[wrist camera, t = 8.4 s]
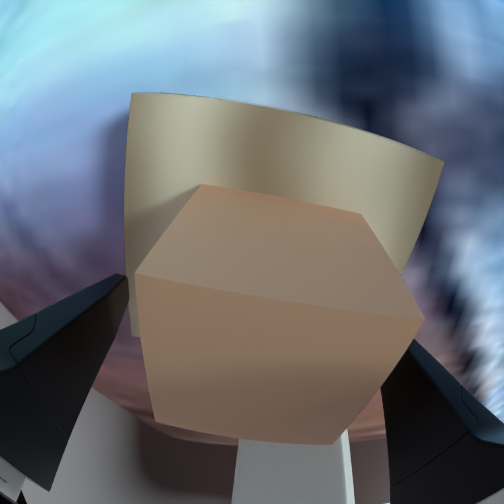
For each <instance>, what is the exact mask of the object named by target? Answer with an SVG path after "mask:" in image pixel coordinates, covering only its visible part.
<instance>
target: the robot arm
mask: <svg viewBox="0 0 504 504" xmlns="http://www.w3.org/2000/svg"><path fill="white" fill-rule="evenodd" d="M128 302H129V282H128V277H127V276H125V275H121V274H114V275H112V276H110V277H108V278H106V279H104V280H102V281H99V282H97V283H95V284H93V285H91V286H89V287H87V288H85V289H83V290H81V291H79V292H77V293H75V294H73V295H71V296H69V297H67V298H65V299H63V300H61V301H59V302H57V303H55V304H53V305H51V306H49V307H47V308H45V309H43V310H41V311H39V312H37V314H36V313H35V314H33V315H31V316H29V317H27V318H25V319H23V320H21V321H19V322H17V323H15V324H12V325H10V326H8V327H6V328H3V329H1V330H0V504H27V503H26V500H25V498H24V496H23V493H22V490H21V488H22V486H23V483H24V481H25V478H26V479H28V480H30V481H31V482H33V483H35V484H36V485H38V486H40V487H42V488H43V489H45V490H47V491H50V489H51V487H52V484H53V481H54V478H55V475H56V472H57V470H58V467H59V464H60V461H61V458H62V456H63V453H64V451H65V448H66V446H67V443H68V440H69V438H70V435H71V433H72V430H73V428H74V425H75V423H76V420H77V418H78V416H79V413H80V411H81V409H82V407H83V404H84V402H85V400H86V398H87V395H88V393H89V391H90V389H91V387H92V384H93V382H94V380H95V378H96V376H97V374H98V372H99V369H100V367H101V365H102V363H103V361H104V359H105V357H106V355H107V353H108V351H109V349H110V347H111V345H112V343H113V341H114V339H115V336H116V334H117V331H118V328H119V326H120V323H121V320H122V318H123V315H124V312H125V310H126V307H127V305H128ZM380 388H381V395H382V402H383V410H384V418H385V427H386V437H387V447H388V459H389V475H390V486H391V487H390V504H504V423H503V422H501V421H500V420H499V419H498V418H497V417H496V416H495V415H494V414H492V413H491V412H490V411H489V410H488V409H487V408H486V407H484V406H483V405H482V404H481V403H480V402H479V401H478V400H477V399H476V398H475V397H474V396H473V395H472V394H471V393H469V392H468V391H467V390H466V389H465V388H464V387H463V386H462V385H460V383H459V382H458V381H457V380H456V379H455V378H454V377H453V376H452V375H451V374H450V373H449V372H448V371H447V370H446V369H445V368H444V367H443V366H442V365H441V364H440V363H439V362H438V361H437V360H436V359H435V358H434V357H433V356H432V355H431V354H430V353H429V352H427V351H426V350H425V349H424V348H423V347H422V346H421V345H420V344H419V343H418V342H417V341H416V340H415V339H413V340H412V342H411V343H410V345H409V347H408V348H407V350H406V351H405V353H404V354H403V356H402V357H401V359H400V360H399V362H398V363H397V365H396V366H395V368H394V369H393V370H392V372H391V373H390V375H389V376H388V377H387V379H386V380H385V382H384V383H383V384H382V386H381V387H380Z"/></svg>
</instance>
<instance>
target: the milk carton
mask: <svg viewBox="0 0 504 504" xmlns="http://www.w3.org/2000/svg"><path fill="white" fill-rule="evenodd" d="M232 504H355V501H354V489H353V478H352V468H351V459H350V449H349V441H348V433H347V429H346V430H345V431H344V432H343V433H342V435H341V436H340V437H339V438H338V439H337V440H336V441H335V442H334V443H333V444H332V445H309V444H289V443H275V442H264V441H255V440H247V439H239V445H238V453H237V462H236V470H235V479H234V487H233V496H232Z"/></svg>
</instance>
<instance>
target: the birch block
mask: <svg viewBox="0 0 504 504" xmlns="http://www.w3.org/2000/svg"><path fill="white" fill-rule="evenodd" d="M444 163H445V162H443V161H441V160H439V159H437V158H435V157H433V156H430V155H428V154H426V153H424V152H422V151H419V150H417V149H415V148H412V147H410V146H408V145H405V144H402V143H399V142H397V141H394V140H391V139H388V138H385V137H383V136H380V135H377V134H374V133H371V132H367V131H364V130H361V129H358V128H355V127H351V126H348V125H344V124H341V123H337V122H334V121H330V120H326V119H323V118H319V117H315V116H311V115H307V114H302V113H298V112H294V111H289V110H284V109H280V108H275V107H270V106H264V105H259V104H253V103H247V102H241V101H235V100H228V99H221V98H213V97H205V96H196V95H186V94H174V93H132V95H131V103H130V112H129V121H128V132H127V145H126V161H125V185H124V241H125V265H126V276H127V277H128V282H129V302H128V305H129V315H130V324H131V333H132V336H135V337H139V338H141V336H140V327H139V319H138V309H137V299H136V287H135V272H136V270H137V269H138V267H139V266H140V265H141V263H142V262H143V260H144V259H145V258H146V256H147V255H148V253H149V252H150V251H151V249H152V248H153V247H154V245H155V244H156V242H157V241H158V240H159V238H160V237H161V236H162V234H163V233H164V232H165V230H166V229H167V228H168V227H169V225H170V224H171V223H172V221H173V220H174V219H175V217H176V216H177V215H178V214H179V212H180V211H181V210H182V208H183V207H184V206H185V205H186V203H187V202H188V201H189V200H190V198H191V197H192V196H193V195H194V193H195V192H196V191H197V190H198V188H199V187H200V186H201V185H202V184H206V185H213V186H219V187H226V188H232V189H238V190H244V191H250V192H256V193H261V194H267V195H272V196H278V197H283V198H289V199H294V200H299V201H304V202H309V203H314V204H319V205H324V206H328V207H333V208H338V209H342V210H347V211H351V212H356V213H360V214H362V216H363V217H364V219H365V220H366V222H367V223H368V225H369V226H370V228H371V229H372V231H373V232H374V234H375V235H376V237H377V238H378V240H379V241H380V243H381V244H382V246H383V248H384V249H385V251H386V252H387V254H388V255H389V257H390V259H391V260H392V262H393V264H394V265H395V267H396V268H397V270H398V272H399V273H400V275H401V274H402V272H403V270H404V268H405V266H406V263H407V261H408V259H409V257H410V254H411V252H412V250H413V248H414V245H415V243H416V240H417V238H418V236H419V233H420V231H421V228H422V226H423V223H424V221H425V218H426V215H427V213H428V210H429V207H430V205H431V202H432V199H433V196H434V194H435V191H436V188H437V185H438V182H439V179H440V176H441V172H442V169H443V166H444Z"/></svg>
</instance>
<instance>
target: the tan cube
mask: <svg viewBox="0 0 504 504" xmlns="http://www.w3.org/2000/svg"><path fill="white" fill-rule="evenodd" d="M135 287H136V299H137V309H138V319H139V327H140V336H141V343H142V350H143V357H144V364H145V370H146V376H147V382H148V388H149V393H150V398H151V403H152V408H153V413H154V418H155V422H158V423H162V424H166V425H170V426H175V427H179V428H183V429H188V430H193V431H198V432H203V433H208V434H214V435H219V436H226V437H232V438H239V439H247V440H255V441H264V442H275V443H289V444H309V445H332V444H333V443H334V442H335V441H336V440H337V439H338V438H339V437H340V436H341V435H342V433H343V432H344V431H345V430H346V429H347V428H348V427H349V426H350V424H351V423H352V422H353V421H354V420H355V418H356V417H357V416H358V415H359V414H360V412H361V411H362V410H363V409H364V408H365V406H366V405H367V404H368V403H369V401H370V400H371V399H372V397H373V396H374V395H375V394H376V392H377V391H378V390H379V388H380V387H381V386H382V384H383V383H384V382H385V380H386V379H387V377H388V376H389V375H390V373H391V372H392V370H393V369H394V368H395V366H396V365H397V363H398V362H399V360H400V359H401V357H402V356H403V354H404V353H405V351H406V350H407V348H408V347H409V345H410V343H411V342H412V340H413V339H414V337H415V335H416V334H417V332H418V331H419V329H420V327H421V326H422V324H423V322H424V320H425V318H424V316H423V314H422V312H421V310H420V308H419V307H418V305H417V303H416V301H415V299H414V298H413V296H412V294H411V292H410V290H409V289H408V287H407V285H406V284H405V282H404V280H403V278H402V277H401V275H400V273H399V272H398V270H397V268H396V267H395V265H394V264H393V262H392V260H391V259H390V257H389V255H388V254H387V252H386V251H385V249H384V248H383V246H382V244H381V243H380V241H379V240H378V238H377V237H376V235H375V234H374V232H373V231H372V229H371V228H370V226H369V225H368V223H367V222H366V220H365V219H364V217H363V216H362V214H360V213H356V212H351V211H347V210H342V209H338V208H333V207H328V206H324V205H319V204H314V203H309V202H304V201H299V200H294V199H289V198H283V197H278V196H272V195H267V194H261V193H256V192H250V191H244V190H238V189H232V188H226V187H219V186H213V185H206V184H202V185H201V186H200V187H199V188H198V190H197V191H196V192H195V193H194V195H193V196H192V197H191V198H190V200H189V201H188V202H187V203H186V205H185V206H184V207H183V208H182V210H181V211H180V212H179V214H178V215H177V216H176V217H175V219H174V220H173V221H172V223H171V224H170V225H169V227H168V228H167V229H166V230H165V232H164V233H163V234H162V236H161V237H160V238H159V240H158V241H157V242H156V244H155V245H154V247H153V248H152V249H151V251H150V252H149V253H148V255H147V256H146V258H145V259H144V260H143V262H142V263H141V265H140V266H139V267H138V269H137V270H136V272H135Z"/></svg>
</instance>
